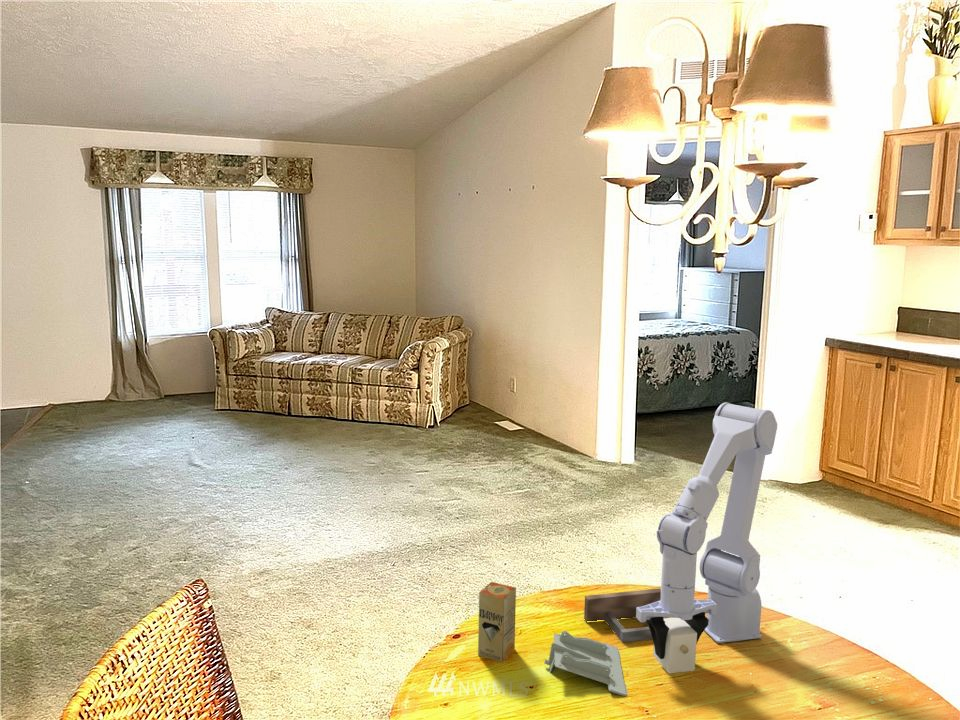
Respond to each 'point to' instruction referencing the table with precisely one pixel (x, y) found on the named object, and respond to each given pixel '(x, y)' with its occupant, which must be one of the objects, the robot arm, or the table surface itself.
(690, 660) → the cabinet block
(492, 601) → the shoe polish box
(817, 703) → the table surface
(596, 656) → the metal bracket
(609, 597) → the board
